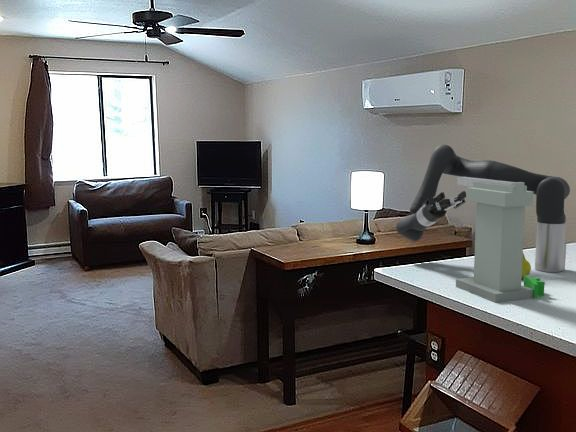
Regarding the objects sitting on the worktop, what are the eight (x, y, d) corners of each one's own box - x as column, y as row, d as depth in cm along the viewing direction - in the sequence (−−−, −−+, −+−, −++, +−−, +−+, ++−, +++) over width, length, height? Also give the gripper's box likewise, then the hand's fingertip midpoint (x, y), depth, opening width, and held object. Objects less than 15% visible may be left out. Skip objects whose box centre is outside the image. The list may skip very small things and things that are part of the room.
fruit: (508, 274, 203) (510, 240, 202) (529, 276, 201) (531, 242, 199) (509, 279, 197) (510, 244, 195) (530, 281, 195) (532, 245, 193)
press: (491, 282, 193) (496, 177, 188) (533, 297, 175) (539, 181, 170) (455, 286, 188) (459, 178, 183) (494, 302, 170) (499, 183, 166)
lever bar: (463, 184, 195) (463, 176, 195) (518, 191, 171) (518, 182, 170) (457, 184, 194) (457, 176, 194) (511, 191, 170) (511, 183, 169)
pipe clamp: (547, 299, 174) (548, 284, 173) (534, 299, 174) (534, 284, 174) (535, 289, 185) (536, 275, 184) (523, 289, 185) (523, 274, 185)
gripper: (411, 204, 211) (433, 185, 197) (444, 202, 216) (469, 183, 201) (416, 223, 208) (439, 205, 194) (450, 221, 213) (475, 203, 199)
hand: (454, 194), depth 198 cm, fingers open, 8 cm apart
